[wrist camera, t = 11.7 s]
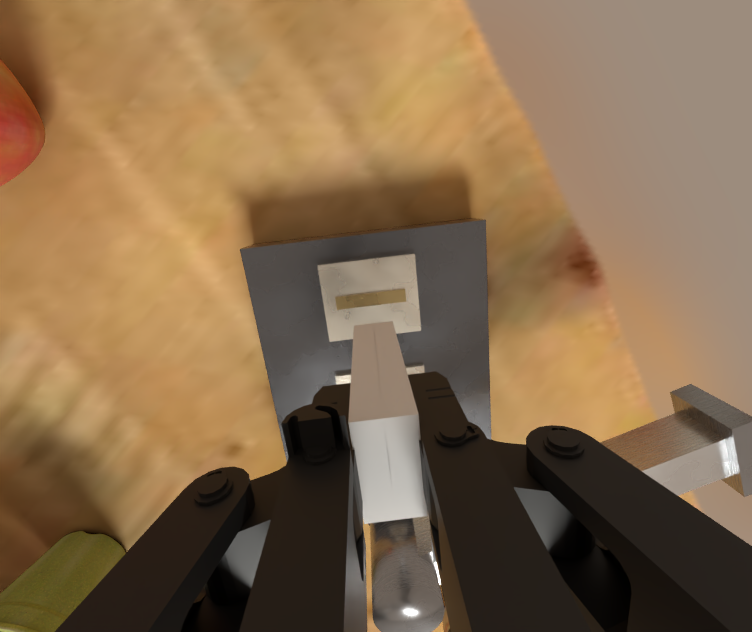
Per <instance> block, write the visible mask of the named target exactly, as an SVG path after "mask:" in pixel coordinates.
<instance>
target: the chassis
mask: <svg viewBox="0 0 752 632" xmlns="http://www.w3.org/2000/svg"><path fill="white" fill-rule="evenodd" d="M240 252H241V256H242V261H243V265H244V270H245V274H246V279H247V283H248V288H249V292H250V297H251V301H252V306H253V310H254V315H255V320H256V324H257V329H258V333H259V338H260V342H261V347H262V351H263V356H264V360H265V365H266V369H267V374H268V378H269V383H270V387H271V392H272V396H273V401H274V405H275V410H276V414H277V419H278V423H279V428H280V432H281V437H282V441H283V446H284V451H285V455H286V460H287V461H288V452H287V447H286V443H285V438H284V434H283V429H282V425H281V423H282V421H283V420H284V419H285V417H286V416H287V415H288V414H290V413H291V412H293V411H294V410H296V409H298V408H300V407H303V406H305V405H309V404H312V402H313V398H314V395H315V394H316V393H317V392H318V391H319V390H320V389H321V388H322V387H323V386H330V385H338V384H346V383H351V367H352V349H353V332H354V326H355V325H363V324H371V323H379V322H388V321H393V324H394V328H395V332H396V335H397V339H398V342H399V346H400V349H401V353H402V357H403V360H404V364H405V367H406V371H407V375H410V374H418V373H426V372H434V371H437V372H438V373H440V374H441V375H443V376H444V377H446V378H447V380H448V382H449V384H450V386H451V389H452V390H453V392H454V394H455V396H456V398H457V400H458V402H459V404H460V406H461V408H462V410H463V412H464V414H465V416H466V418H467V420H468V421H469V422H471V423H473V424H475V425H477V426H478V427H479V428H480V429H481V430H482V431H483V432H484V434H485V435H486V437H487V439H491V412H490V373H489V333H488V293H487V254H486V220H483V219H474V218H469V219H461V220H452V221H444V222H436V223H427V224H419V225H411V226H402V227H394V228H386V229H377V230H369V231H361V232H352V233H344V234H336V235H327V236H319V237H311V238H302V239H294V240H286V241H277V242H269V243H260V244H253V245H250V246H248V247H245V248H242V249H240ZM427 511H428V510H427ZM368 524H369V525H370V523H368Z"/></svg>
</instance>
